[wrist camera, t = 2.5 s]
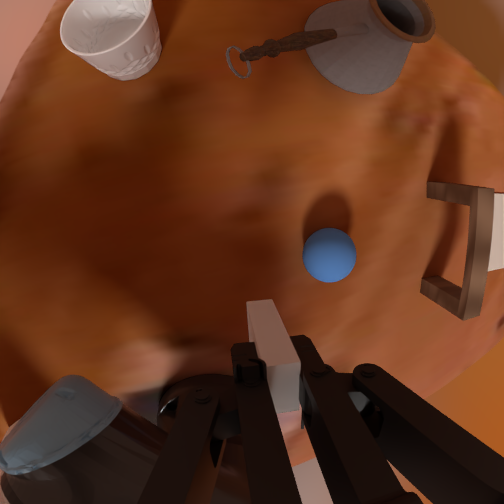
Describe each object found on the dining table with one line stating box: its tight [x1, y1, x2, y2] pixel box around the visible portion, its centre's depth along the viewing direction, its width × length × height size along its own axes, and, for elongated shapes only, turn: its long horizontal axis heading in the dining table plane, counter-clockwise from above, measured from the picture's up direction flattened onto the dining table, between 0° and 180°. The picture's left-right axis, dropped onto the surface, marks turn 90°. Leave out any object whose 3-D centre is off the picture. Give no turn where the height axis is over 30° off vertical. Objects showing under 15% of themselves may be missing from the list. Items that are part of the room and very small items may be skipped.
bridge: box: [420, 182, 494, 321], centre depth 31 cm, size 14×3×9 cm, turn 3°
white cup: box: [60, 0, 162, 81], centre depth 22 cm, size 8×8×10 cm
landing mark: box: [488, 193, 504, 271], centre depth 37 cm, size 12×12×1 cm
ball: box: [303, 228, 356, 282], centre depth 31 cm, size 6×6×6 cm
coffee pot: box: [226, 0, 435, 94], centre depth 22 cm, size 21×12×15 cm, turn 121°
